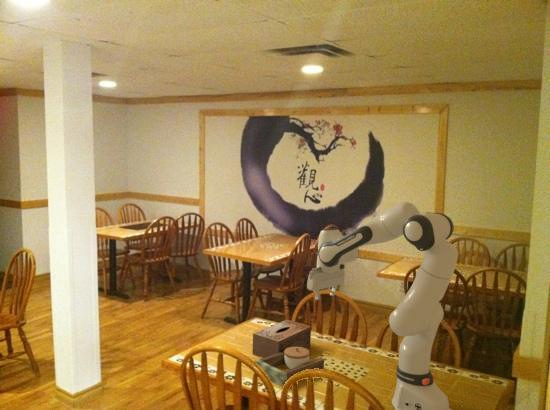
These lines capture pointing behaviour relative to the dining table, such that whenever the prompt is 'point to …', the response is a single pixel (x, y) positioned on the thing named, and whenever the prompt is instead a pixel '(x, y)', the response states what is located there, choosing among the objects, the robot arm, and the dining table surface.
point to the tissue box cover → (281, 338)
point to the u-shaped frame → (278, 360)
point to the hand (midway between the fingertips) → (324, 297)
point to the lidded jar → (296, 356)
